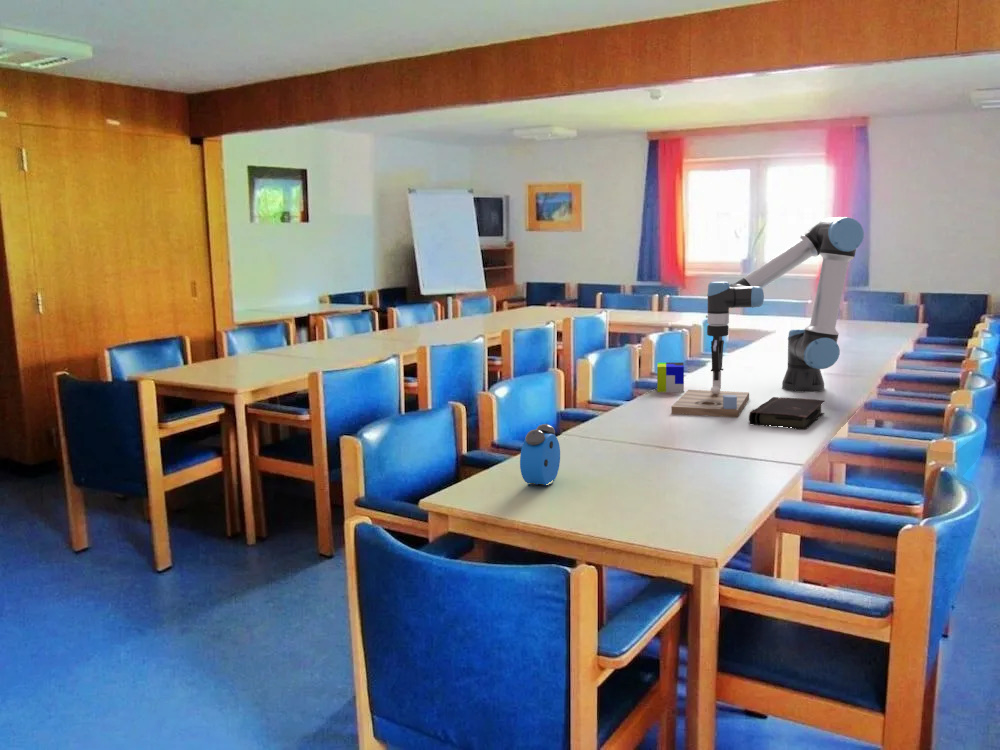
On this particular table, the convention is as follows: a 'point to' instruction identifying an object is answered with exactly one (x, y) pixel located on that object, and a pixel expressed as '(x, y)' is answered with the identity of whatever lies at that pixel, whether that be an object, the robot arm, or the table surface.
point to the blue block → (729, 401)
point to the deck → (708, 403)
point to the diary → (787, 412)
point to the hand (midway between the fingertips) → (716, 388)
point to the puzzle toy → (670, 377)
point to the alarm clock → (540, 455)
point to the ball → (715, 390)
